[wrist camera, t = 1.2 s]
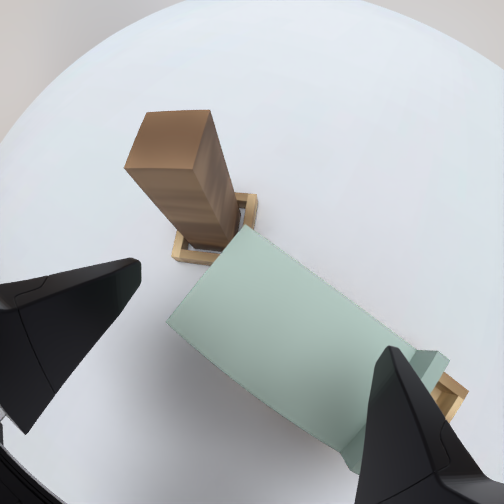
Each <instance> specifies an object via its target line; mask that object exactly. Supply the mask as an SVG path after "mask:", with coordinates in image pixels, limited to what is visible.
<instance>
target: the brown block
mask: <svg viewBox="0 0 504 504" xmlns="http://www.w3.org/2000/svg"><path fill="white" fill-rule="evenodd" d="M124 169H125V170H126V171H127V172H128V174H129V175H130V176H131V177H132V178H133V180H134V181H135V182H136V183H137V184H138V185H139V187H140V188H141V189H142V190H143V191H144V192H145V193H146V195H147V196H148V197H149V198H150V199H151V200H152V202H153V203H154V204H155V205H156V206H157V207H158V208H159V210H160V211H161V212H162V213H163V214H164V215H165V216H166V218H167V219H168V220H169V221H170V222H171V223H172V224H173V225H174V227H175V228H176V229H177V230H178V231H179V232H180V233H181V234H182V235H183V237H184V238H185V239H186V240H187V241H188V242H189V243H190V244H191V245H192V247H193V248H195V249H203V250H212V251H220V252H222V251H223V250H224V249H225V248H226V247H227V245H228V244H229V243H230V242H231V240H232V239H233V238H234V237H235V236H236V234H237V233H238V228H239V222H240V216H241V213H240V210H239V206H238V203H237V200H236V196H235V193H234V189H233V186H232V183H231V179H230V176H229V172H228V169H227V166H226V162H225V159H224V155H223V152H222V149H221V145H220V142H219V138H218V135H217V132H216V128H215V125H214V122H213V118H212V115H211V111H210V110H181V111H161V112H147V113H146V115H145V117H144V120H143V122H142V124H141V126H140V129H139V131H138V133H137V136H136V138H135V141H134V143H133V146H132V148H131V151H130V153H129V156H128V158H127V161H126V164H125V166H124Z"/></svg>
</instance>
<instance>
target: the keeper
mask: <svg viewBox="0 0 504 504" xmlns="http://www.w3.org/2000/svg"><path fill="white" fill-rule="evenodd" d="M234 193H235V196H236V200H237V203H238V206H239V208H246V210H245V216H244V222H243V226H244V225H245V224H246V225H247V226H249V227H250V228H251V229H253V230H254V224H255V217H256V211H257V204H258V200H257V194H248V193H236V192H234ZM188 243H189V242H188V241H187V240H186V239H185V238H184V237H183V235H182V234H181V233H180V232H179V231H178V230H177V232H176V237H175V241H174V246H173V250H172V255H171V257H172V258H174V259H175V260H176V261H179V262H187V263H194V264H202V265H210V266H211V265H212V264H213V262H214V261H215V260H216V259H217V258H218V256H219V255H220V254H216V253H208V252H199V251H191V250H187V248H188Z"/></svg>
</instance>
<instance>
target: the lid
mask: <svg viewBox="0 0 504 504" xmlns="http://www.w3.org/2000/svg"><path fill="white" fill-rule="evenodd" d="M166 323H167V324H168V325H169V326H170V327H171V328H172V329H173V330H175V331H176V332H177V333H178V334H179V335H180V336H181V337H182V338H184V339H185V340H186V341H187V342H188V343H189V344H190V345H192V346H193V347H194V348H195V349H196V350H197V351H199V352H200V353H201V354H202V355H203V356H204V357H206V358H207V359H208V360H209V361H210V362H212V363H213V364H214V365H215V366H217V367H218V368H219V369H220V370H221V371H223V372H224V373H225V374H226V375H228V376H229V377H230V378H232V379H233V380H234V381H235V382H237V383H238V384H239V385H241V386H242V387H243V388H244V389H246V390H247V391H248V392H250V393H251V394H252V395H254V396H255V397H257V398H258V399H259V400H261V401H262V402H263V403H265V404H266V405H268V406H269V407H270V408H272V409H273V410H275V411H276V412H277V413H279V414H280V415H282V416H283V417H285V418H286V419H288V420H289V421H291V422H292V423H293V424H295V425H296V426H298V427H300V428H301V429H303V430H304V431H306V432H307V433H309V434H310V435H312V436H313V437H315V438H317V439H318V440H320V441H321V442H323V443H325V444H326V445H328V446H330V447H331V448H333V449H335V450H336V451H338V452H340V453H341V455H342V457H343V459H344V460H345V462H346V464H347V466H348V468H349V469H350V471H352V472H354V473H356V474H358V475H360V469H361V462H362V455H363V447H364V439H365V430H366V419H367V408H368V401H369V396H370V390H371V385H372V379H373V373H374V367H375V364H376V361H377V360H378V358H379V357H380V355H381V354H382V352H383V351H384V349H385V348H386V347H387V346H388V345H391V346H394V347H398V348H399V349H400V350H401V352H402V353H403V355H404V356H405V357H406V359H407V360H408V362H409V363H410V365H411V366H412V367H413V369H414V370H415V372H416V373H417V375H418V376H419V378H420V379H421V381H422V382H423V384H424V385H425V387H426V388H427V390H428V391H429V393H431V392H432V390H433V389H434V387H435V386H436V384H437V382H438V381H439V379H440V377H441V376H442V374H443V372H444V370H445V369H446V367H447V365H448V363H449V362H450V360H449V359H448V358H446V357H445V356H444V355H443V354H441V353H440V352H439V351H427V350H416V349H415V348H414V347H412V346H411V345H410V344H408V343H407V342H406V341H404V340H403V339H402V338H400V337H399V336H398V335H396V334H395V333H394V332H392V331H391V330H390V329H388V328H387V327H386V326H384V325H383V324H382V323H380V322H379V321H378V320H376V319H375V318H374V317H372V316H371V315H370V314H368V313H367V312H366V311H364V310H363V309H362V308H360V307H359V306H358V305H356V304H355V303H354V302H352V301H351V300H350V299H348V298H347V297H346V296H344V295H343V294H341V293H340V292H339V291H337V290H336V289H335V288H333V287H332V286H331V285H329V284H328V283H326V282H325V281H324V280H322V279H321V278H320V277H318V276H317V275H315V274H314V273H313V272H311V271H310V270H309V269H307V268H306V267H304V266H303V265H302V264H300V263H299V262H298V261H296V260H295V259H293V258H292V257H291V256H289V255H288V254H286V253H285V252H284V251H282V250H281V249H280V248H278V247H277V246H275V245H274V244H273V243H271V242H270V241H268V240H267V239H266V238H264V237H263V236H261V235H260V234H259V233H257V232H256V231H254V230H253V229H251V228H250V227H249V226H247V225H246V224H245V225H244V226H243V227H242V228H241V230H240V231H239V232H238V233H237V234H236V236H235V237H234V238H233V239H232V240H231V242H230V243H229V244H228V245H227V247H226V248H225V249H224V250H223V251H222V253H221V254H220V255H219V256H218V258H217V259H216V260H215V261H214V262H213V264H212V265H211V266H210V267H209V269H208V270H207V271H206V272H205V274H204V275H203V276H202V277H201V279H200V280H199V281H198V282H197V283H196V285H195V286H194V287H193V288H192V290H191V291H190V292H189V293H188V295H187V296H186V297H185V298H184V300H183V301H182V302H181V303H180V305H179V306H178V307H177V309H176V310H175V311H174V312H173V314H172V315H171V316H170V317H169V319H168V320H167V321H166Z"/></svg>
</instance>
